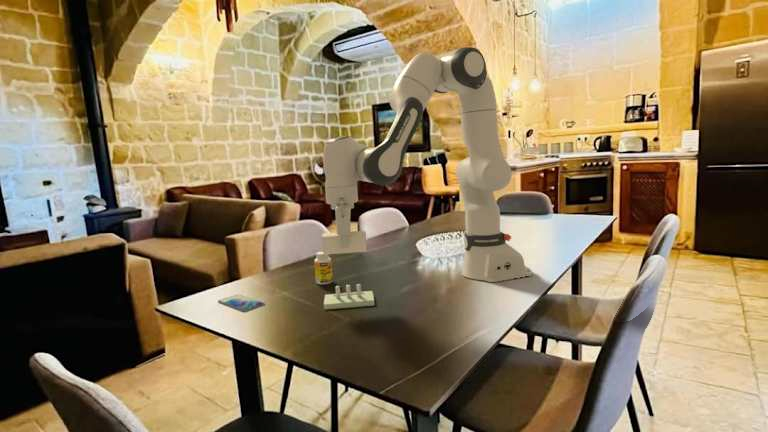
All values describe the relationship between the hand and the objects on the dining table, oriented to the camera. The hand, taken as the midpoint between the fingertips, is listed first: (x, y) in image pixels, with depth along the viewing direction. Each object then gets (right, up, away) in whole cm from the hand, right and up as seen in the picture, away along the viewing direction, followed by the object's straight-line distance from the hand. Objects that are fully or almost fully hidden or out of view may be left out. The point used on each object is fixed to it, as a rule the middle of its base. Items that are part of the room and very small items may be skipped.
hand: (345, 245), depth 119 cm
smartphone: (-31, -18, +7) cm, 37 cm away
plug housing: (0, -2, 0) cm, 2 cm away
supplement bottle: (-9, -14, +23) cm, 28 cm away
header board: (+1, -17, +3) cm, 17 cm away
